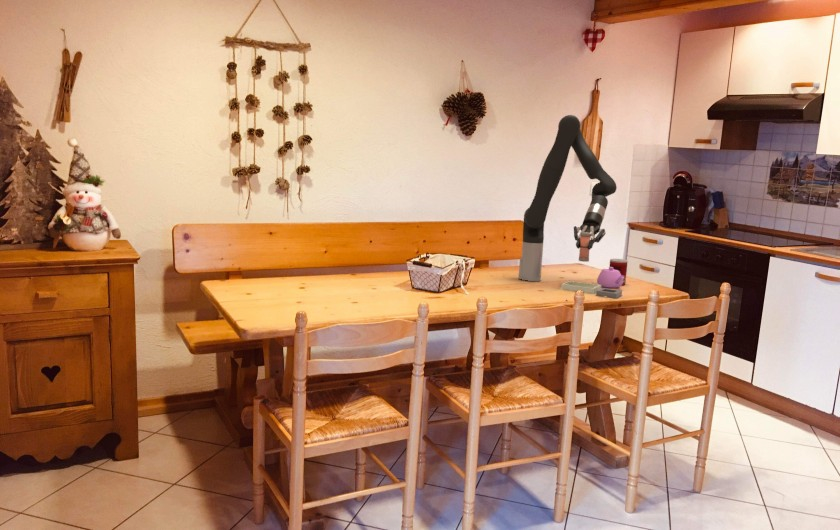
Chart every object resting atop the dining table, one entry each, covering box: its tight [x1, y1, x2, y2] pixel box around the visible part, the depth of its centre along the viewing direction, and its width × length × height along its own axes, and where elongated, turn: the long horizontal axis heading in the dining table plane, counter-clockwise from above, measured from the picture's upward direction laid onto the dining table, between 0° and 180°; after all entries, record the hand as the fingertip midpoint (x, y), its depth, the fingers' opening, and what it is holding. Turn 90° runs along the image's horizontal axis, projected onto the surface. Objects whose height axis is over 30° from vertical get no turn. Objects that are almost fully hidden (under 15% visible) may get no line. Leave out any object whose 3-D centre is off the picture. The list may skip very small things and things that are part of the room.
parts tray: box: [560, 280, 602, 295], centre depth 298 cm, size 14×10×3 cm
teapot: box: [596, 267, 624, 289], centre depth 307 cm, size 10×15×9 cm
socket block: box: [594, 287, 623, 300], centre depth 288 cm, size 9×11×3 cm
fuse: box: [578, 231, 591, 263], centre depth 295 cm, size 4×4×12 cm
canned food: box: [608, 258, 628, 286], centre depth 319 cm, size 8×8×11 cm
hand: (583, 247), depth 294 cm, fingers closed on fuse, 4 cm apart
